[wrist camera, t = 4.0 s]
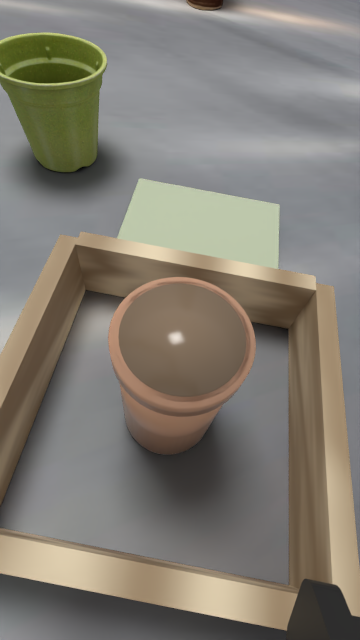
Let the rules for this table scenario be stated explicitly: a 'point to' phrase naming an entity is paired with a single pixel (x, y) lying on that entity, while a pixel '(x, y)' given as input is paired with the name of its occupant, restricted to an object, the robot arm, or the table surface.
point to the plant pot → (55, 95)
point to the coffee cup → (205, 4)
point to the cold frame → (304, 431)
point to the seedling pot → (178, 359)
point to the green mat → (203, 223)
